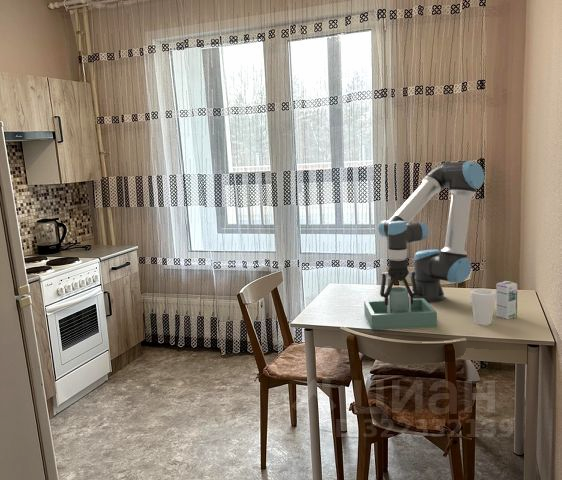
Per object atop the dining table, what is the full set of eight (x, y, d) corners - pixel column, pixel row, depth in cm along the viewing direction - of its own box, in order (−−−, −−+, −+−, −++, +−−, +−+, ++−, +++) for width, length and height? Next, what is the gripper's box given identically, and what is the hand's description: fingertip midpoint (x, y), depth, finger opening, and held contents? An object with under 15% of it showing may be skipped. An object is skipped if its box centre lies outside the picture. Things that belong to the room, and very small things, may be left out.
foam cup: (494, 319, 206) (495, 288, 204) (496, 327, 198) (496, 295, 195) (469, 318, 209) (470, 288, 207) (470, 325, 201) (470, 294, 199)
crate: (423, 311, 222) (423, 298, 221) (436, 326, 202) (436, 312, 201) (364, 314, 222) (364, 301, 221) (371, 329, 203) (371, 315, 202)
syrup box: (507, 319, 205) (508, 285, 203) (495, 316, 210) (496, 282, 208) (517, 317, 208) (518, 282, 205) (505, 313, 213) (505, 280, 211)
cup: (389, 315, 209) (389, 291, 207) (389, 309, 216) (388, 286, 215) (408, 315, 207) (408, 291, 205) (408, 309, 215) (407, 286, 213)
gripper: (420, 255, 211) (421, 307, 215) (371, 258, 212) (372, 310, 216) (425, 259, 204) (426, 313, 208) (374, 261, 204) (375, 315, 208)
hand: (398, 311), depth 212 cm, fingers closed on cup, 8 cm apart
